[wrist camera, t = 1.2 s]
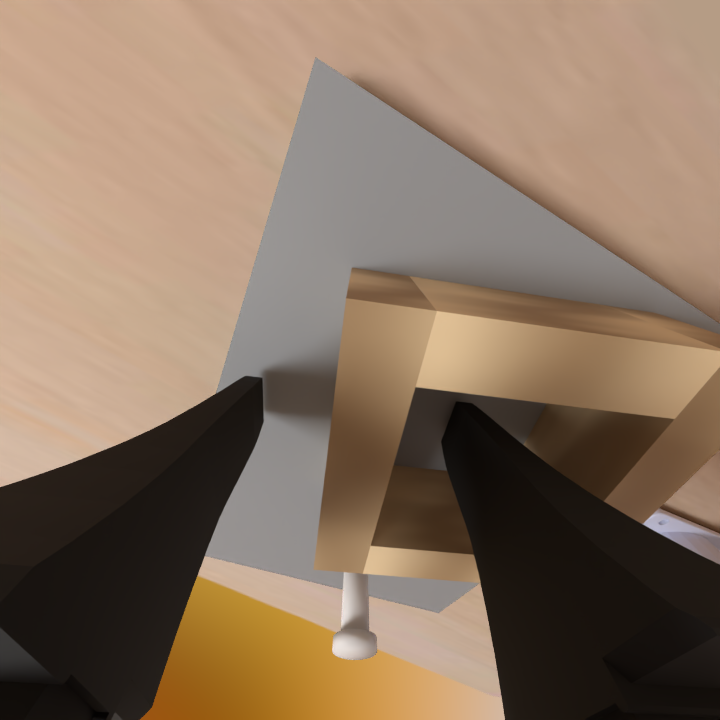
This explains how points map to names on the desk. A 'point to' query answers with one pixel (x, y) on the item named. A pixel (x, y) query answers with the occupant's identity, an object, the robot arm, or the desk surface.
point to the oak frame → (513, 381)
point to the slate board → (327, 305)
